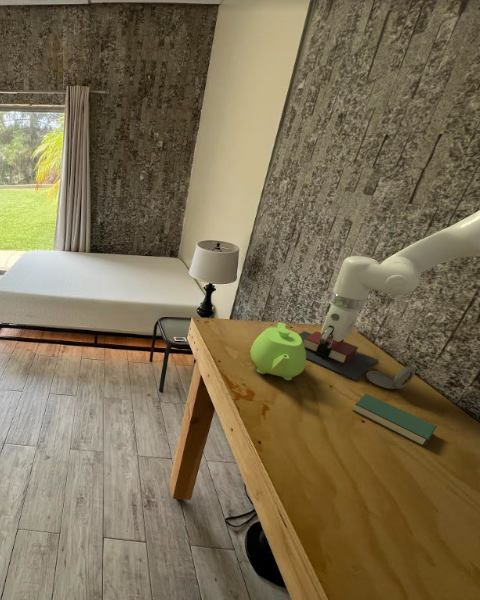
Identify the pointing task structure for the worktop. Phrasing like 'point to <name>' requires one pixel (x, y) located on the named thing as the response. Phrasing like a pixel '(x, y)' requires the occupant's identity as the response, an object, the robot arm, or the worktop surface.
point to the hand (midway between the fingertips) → (327, 352)
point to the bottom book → (395, 419)
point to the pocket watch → (389, 381)
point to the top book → (339, 349)
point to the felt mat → (349, 369)
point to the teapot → (279, 352)
